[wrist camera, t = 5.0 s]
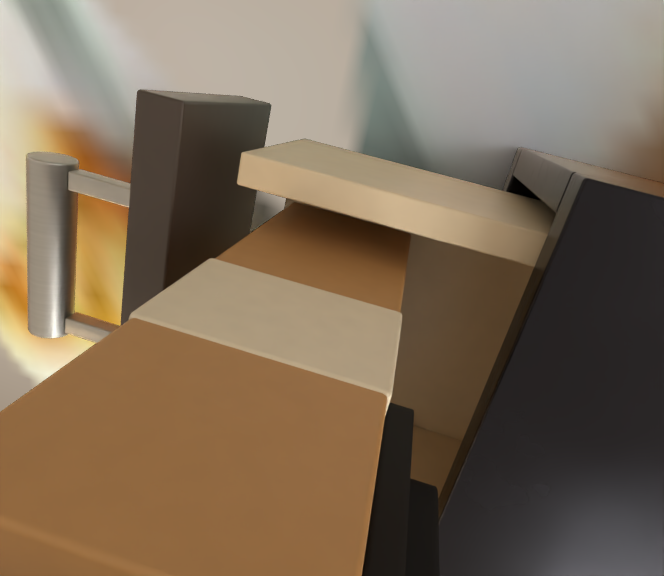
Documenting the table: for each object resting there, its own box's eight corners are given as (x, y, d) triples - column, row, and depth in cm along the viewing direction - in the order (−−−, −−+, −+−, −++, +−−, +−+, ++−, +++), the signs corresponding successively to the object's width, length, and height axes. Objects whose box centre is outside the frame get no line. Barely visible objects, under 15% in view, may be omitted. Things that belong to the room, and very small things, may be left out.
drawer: (102, 341, 22) (-21, 426, 16) (117, 64, 18) (-44, 41, 12) (506, 471, 20) (535, 622, 14) (636, 197, 16) (756, 251, 10)
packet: (260, 356, 18) (-56, 827, 6) (292, 199, 16) (-114, 478, 4) (366, 389, 18) (239, 952, 6) (413, 232, 16) (361, 645, 4)
